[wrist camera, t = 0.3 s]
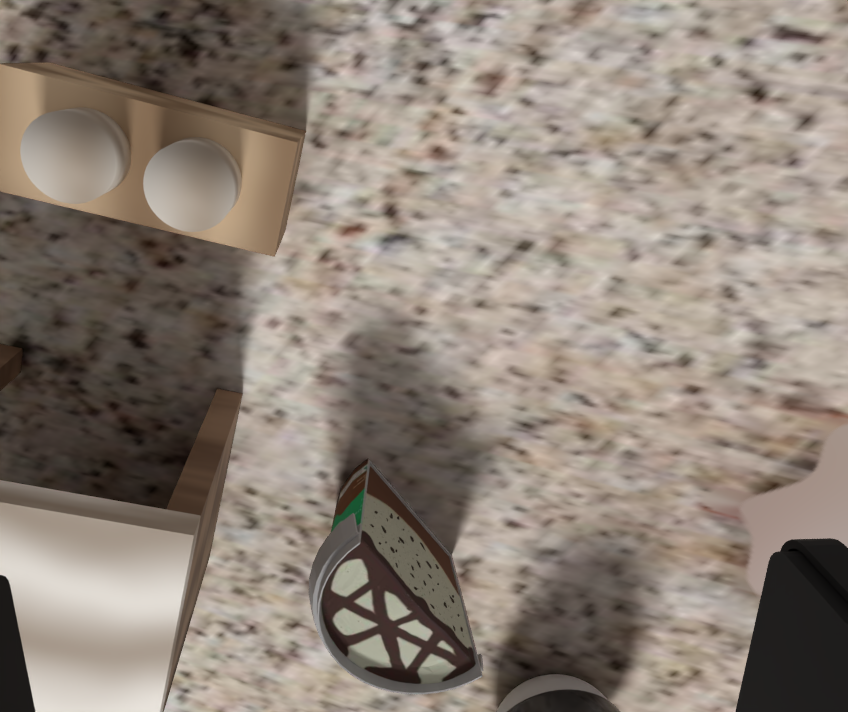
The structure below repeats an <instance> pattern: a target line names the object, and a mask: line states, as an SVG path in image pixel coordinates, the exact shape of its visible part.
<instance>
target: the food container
mask: <svg viewBox="0 0 848 712" xmlns="http://www.w3.org/2000/svg"><path fill="white" fill-rule="evenodd" d="M309 598H310V605H311V610H312V614H313V618H314V622H315V625H316V628H317V631H318V634H319V637H320V638H321V640H322V642H323V643H324V645H325V647H326V649H327V650H328V651H329V653H330V655H331V656H332V657H333V658H334V659H335V661H336V662H337V663H338V664H339V665H340V666H341V667H342V668H343V669H344V670H346V671H347V672H348V673H349V674H350V675H352V676H354V677H355V678H357V679H359V680H360V681H362V682H364V683H366V684H369V685H371V686H373V687H376V688H379V689H383V690H386V691H390V692H396V693H403V694H429V693H438V692H443V691H447V690H451V689H455V688H458V687H461V686H463V685H466V684H469V683H471V682H473V681H475V680H477V679H479V678H481V677H482V671H483V661H482V655H481V654H479V655H477V651H476V647H475V643H474V640H473V636H472V632H471V628H470V624H469V620H468V616H467V612H466V608H465V605H464V601H463V597H462V593H461V589H460V585H459V581H458V577H457V573H456V570H455V566H454V562H453V558H452V555H451V554H450V553H449V551H448V550H447V549H446V548H445V547H444V546H443V544H442V543H441V542H440V541H439V540H438V539H437V537H436V536H435V535H434V534H433V533H432V532H431V531H430V529H429V528H428V527H427V526H426V525H425V524H424V522H423V521H422V520H421V519H420V518H419V517H418V515H417V514H416V513H415V512H414V511H413V510H412V509H411V507H410V506H409V505H408V504H407V503H406V502H405V500H404V499H403V498H402V497H401V496H400V495H399V493H398V492H397V491H396V490H395V489H394V488H393V487H392V485H391V484H390V483H389V482H388V481H387V480H386V478H385V477H384V476H383V475H382V474H381V473H380V471H379V470H378V469H377V468H376V467H375V466H374V465H373V463H372V462H371V461H370V460H369V459H367V460H366V461H364V462H363V463H362V464H361V465H359V466H358V467H357V468H356V469H354V471H353V472H352V474H351V475H350V476H349V478H348V479H347V481H346V482H345V484H344V485H343V486H342V488H341V492H340V495H339V499H338V502H337V506H336V510H335V515H334V520H333V525H332V530H331V533H330V534H329V536H328V537H327V538H326V540H325V541H324V543H323V544H322V546H321V547H320V549H319V551H318V553H317V555H316V558H315V560H314V562H313V565H312V569H311V574H310V578H309Z"/></svg>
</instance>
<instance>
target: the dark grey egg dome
mask: <svg viewBox="0 0 848 712" xmlns="http://www.w3.org/2000/svg"><path fill="white" fill-rule="evenodd" d="M496 712H620V711H619V709H618V708H617V707H616V706H615V705H614V704H612V703H611V702H610V701H608V699H607V698H606V697H605V696H604V695H603V694H602V693H601V692H600V691H599V690H597V689H596V688H595V687H593V686H592V685H590V684H589V683H587V682H585V681H583V680H581V679H578V678H576V677H572V676H568V675H561V674H549V675H542V676H538V677H535V678H532V679H529V680H527V681H525V682H523V683H521V684H520V685H518V686H517V687H516V688H514V689H513V690H512V691H511V692H510V693H509V694H508V695H507V696H506V697H505V698H504V700H503V701H502V702H501V704H500V706H499V707H498V709H497V711H496Z"/></svg>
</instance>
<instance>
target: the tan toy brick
mask: <svg viewBox="0 0 848 712" xmlns="http://www.w3.org/2000/svg"><path fill="white" fill-rule="evenodd" d="M305 133H306V131H304V130H300V129H296V128H293V127H289V126H285V125H281V124H278V123H274V122H270V121H267V120H263V119H259V118H255V117H252V116H248V115H244V114H240V113H237V112H233V111H229V110H225V109H222V108H218V107H214V106H210V105H207V104H203V103H199V102H195V101H192V100H188V99H184V98H180V97H177V96H173V95H169V94H165V93H162V92H158V91H154V90H150V89H147V88H143V87H139V86H136V85H132V84H128V83H124V82H121V81H117V80H113V79H109V78H106V77H102V76H98V75H94V74H91V73H87V72H83V71H79V70H76V69H72V68H68V67H64V66H61V65H57V64H53V63H3V64H0V192H4V193H9V194H13V195H17V196H21V197H25V198H30V199H34V200H38V201H42V202H47V203H51V204H55V205H59V206H63V207H68V208H72V209H76V210H80V211H85V212H89V213H93V214H97V215H101V216H106V217H110V218H114V219H118V220H123V221H127V222H131V223H135V224H139V225H144V226H148V227H152V228H156V229H160V230H165V231H169V232H173V233H177V234H182V235H186V236H190V237H194V238H198V239H203V240H207V241H211V242H215V243H220V244H224V245H228V246H232V247H236V248H241V249H245V250H249V251H253V252H257V253H262V254H266V255H270V256H274V257H275V254H276V252H277V250H278V247H279V245H280V242H281V240H282V238H283V235H284V233H285V230H286V225H287V220H288V215H289V210H290V206H291V201H292V196H293V191H294V186H295V181H296V177H297V172H298V167H299V162H300V157H301V152H302V148H303V143H304V138H305Z"/></svg>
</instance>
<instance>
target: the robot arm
mask: <svg viewBox="0 0 848 712" xmlns="http://www.w3.org/2000/svg"><path fill="white" fill-rule="evenodd" d="M0 712H35V707H34V702H33V697H32V692H31V687H30V682H29V677H28V672H27V667H26V662H25V657H24V652H23V647H22V642H21V637H20V632H19V627H18V622H17V617H16V612H15V607H14V602H13V597H12V592H11V587H10V584H9V580H8V579H7V578H6V576H3V575H0ZM736 712H848V548H847V547H846V546H845V545H844V544H842V543H841V542H840V541H838V540H835V539H797V540H790V541H787V542H786V543H785V544H784V545H783V546H782V548H781V551H780V552H775V553H774V554H773V555H772V556H771V557H770V560H769V564H768V568H767V573H766V578H765V581H764V586H763V591H762V595H761V599H760V604H759V608H758V613H757V618H756V622H755V627H754V631H753V636H752V640H751V645H750V649H749V654H748V658H747V663H746V667H745V672H744V676H743V681H742V685H741V690H740V694H739V699H738V703H737V708H736Z"/></svg>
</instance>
